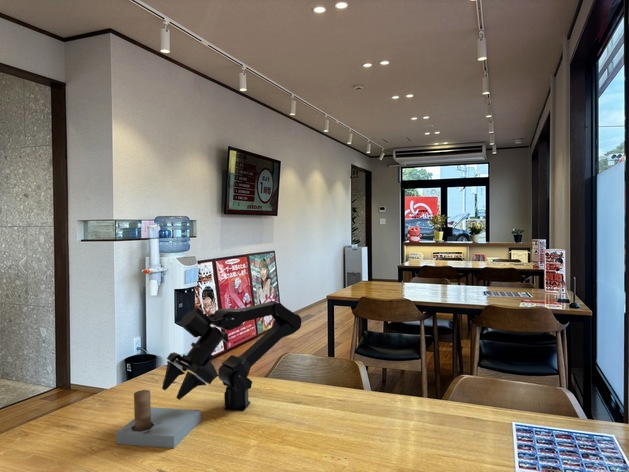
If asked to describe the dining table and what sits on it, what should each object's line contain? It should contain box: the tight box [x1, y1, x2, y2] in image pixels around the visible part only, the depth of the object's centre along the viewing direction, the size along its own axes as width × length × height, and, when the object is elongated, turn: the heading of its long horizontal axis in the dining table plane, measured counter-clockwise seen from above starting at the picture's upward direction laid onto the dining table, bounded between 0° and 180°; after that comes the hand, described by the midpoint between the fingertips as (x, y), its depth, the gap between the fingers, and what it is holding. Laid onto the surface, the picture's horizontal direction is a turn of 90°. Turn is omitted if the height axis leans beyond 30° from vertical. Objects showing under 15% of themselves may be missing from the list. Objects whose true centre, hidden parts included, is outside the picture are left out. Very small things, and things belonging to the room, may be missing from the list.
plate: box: [115, 406, 202, 449], centre depth 119 cm, size 16×16×3 cm
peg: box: [133, 389, 152, 432], centre depth 116 cm, size 4×4×12 cm
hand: (170, 394), depth 121 cm, fingers open, 9 cm apart
